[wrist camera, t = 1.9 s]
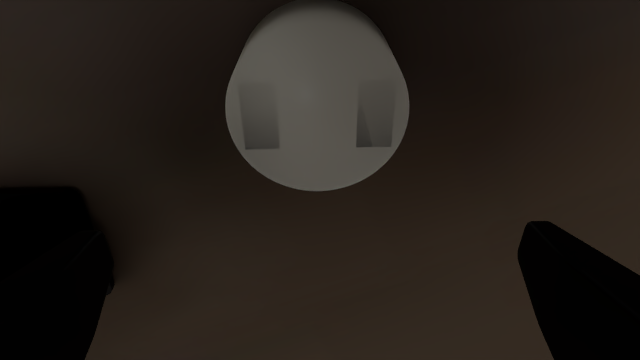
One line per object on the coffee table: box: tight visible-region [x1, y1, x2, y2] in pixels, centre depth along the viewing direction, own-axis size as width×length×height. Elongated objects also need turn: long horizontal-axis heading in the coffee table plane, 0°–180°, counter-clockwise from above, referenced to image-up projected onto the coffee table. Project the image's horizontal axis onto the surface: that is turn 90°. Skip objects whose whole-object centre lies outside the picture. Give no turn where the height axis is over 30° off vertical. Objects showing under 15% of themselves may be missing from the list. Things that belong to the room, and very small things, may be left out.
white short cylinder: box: [225, 0, 409, 191], centre depth 16 cm, size 6×6×4 cm
